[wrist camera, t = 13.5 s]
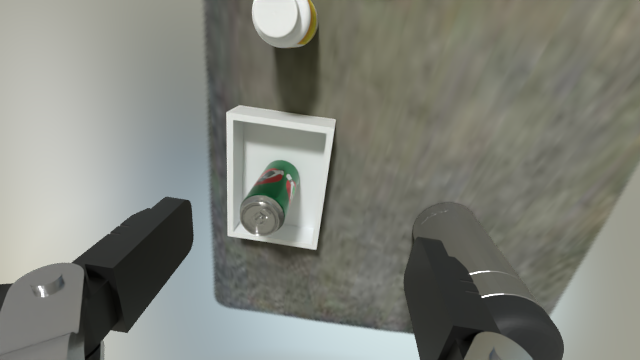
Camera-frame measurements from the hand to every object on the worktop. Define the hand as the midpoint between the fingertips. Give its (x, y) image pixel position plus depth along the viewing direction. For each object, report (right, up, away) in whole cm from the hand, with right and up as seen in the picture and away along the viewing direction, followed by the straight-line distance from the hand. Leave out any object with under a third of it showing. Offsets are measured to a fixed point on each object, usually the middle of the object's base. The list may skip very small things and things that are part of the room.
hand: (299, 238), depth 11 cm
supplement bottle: (-2, +21, +24) cm, 32 cm away
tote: (-5, +3, +32) cm, 33 cm away
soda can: (-5, +3, +32) cm, 32 cm away
